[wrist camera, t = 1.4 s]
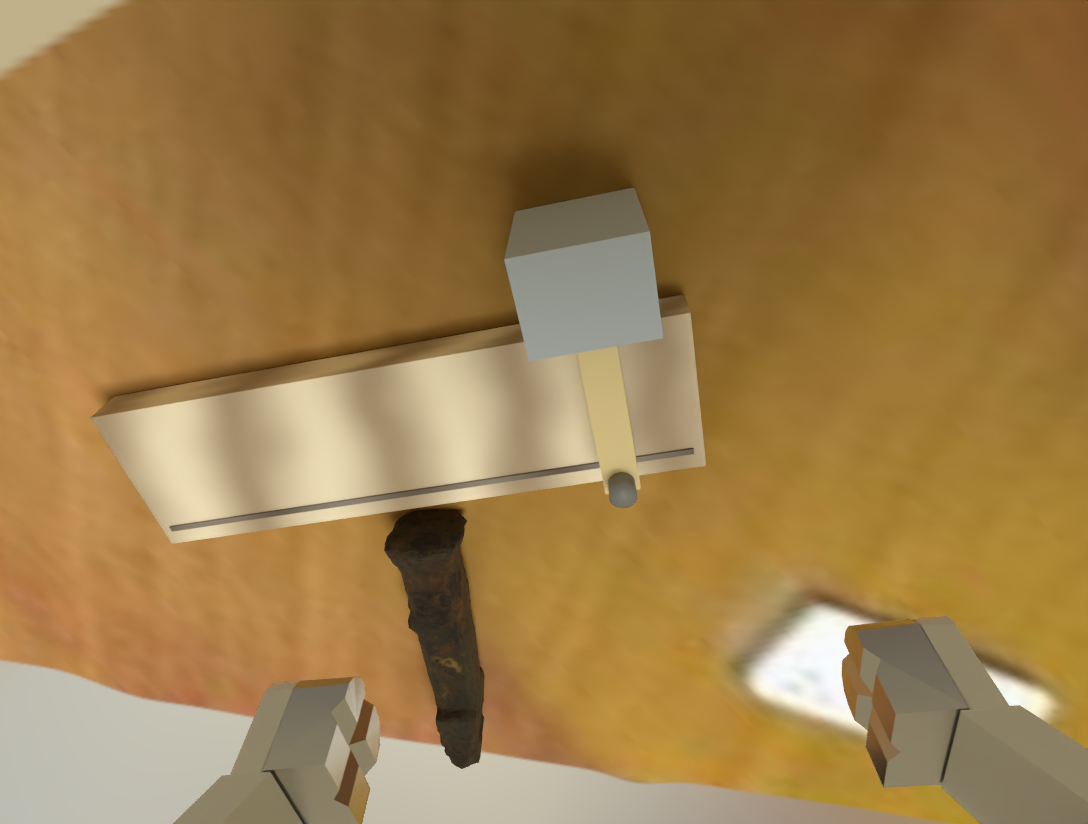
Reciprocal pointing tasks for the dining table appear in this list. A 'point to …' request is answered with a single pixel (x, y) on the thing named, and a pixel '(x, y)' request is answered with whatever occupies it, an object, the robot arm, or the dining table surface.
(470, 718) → the rusty railroad spike
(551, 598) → the dining table surface
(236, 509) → the board
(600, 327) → the grey mallet
